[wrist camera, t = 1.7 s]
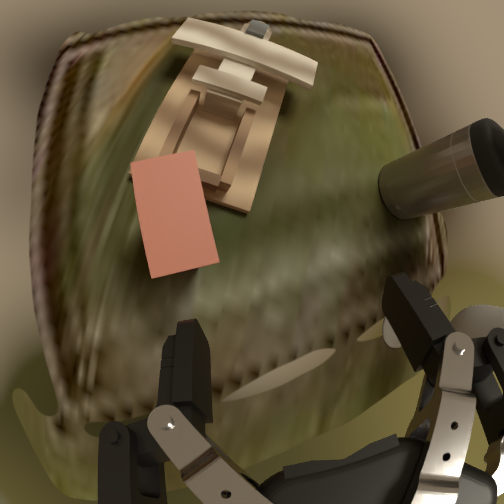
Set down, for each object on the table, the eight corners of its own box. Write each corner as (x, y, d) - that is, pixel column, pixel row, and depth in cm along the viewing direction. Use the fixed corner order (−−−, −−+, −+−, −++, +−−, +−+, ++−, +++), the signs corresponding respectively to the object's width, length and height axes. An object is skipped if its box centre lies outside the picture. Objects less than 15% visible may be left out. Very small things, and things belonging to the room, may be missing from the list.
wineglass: (399, 289, 37) (525, 291, 17) (420, 319, 38) (531, 331, 18) (373, 330, 35) (506, 356, 15) (396, 358, 36) (511, 388, 16)
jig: (200, 25, 32) (207, -6, 25) (305, 62, 36) (324, 36, 29) (114, 172, 27) (101, 146, 21) (263, 219, 32) (286, 205, 25)
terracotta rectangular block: (149, 212, 28) (130, 162, 15) (184, 204, 29) (194, 150, 16) (162, 276, 28) (151, 278, 15) (198, 267, 29) (219, 262, 16)
